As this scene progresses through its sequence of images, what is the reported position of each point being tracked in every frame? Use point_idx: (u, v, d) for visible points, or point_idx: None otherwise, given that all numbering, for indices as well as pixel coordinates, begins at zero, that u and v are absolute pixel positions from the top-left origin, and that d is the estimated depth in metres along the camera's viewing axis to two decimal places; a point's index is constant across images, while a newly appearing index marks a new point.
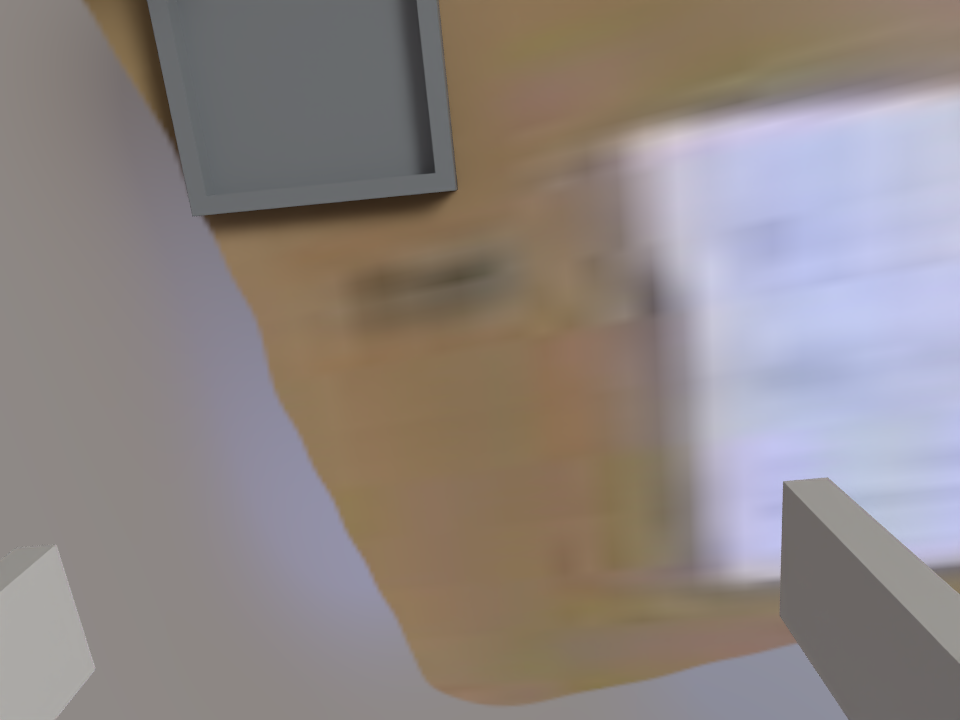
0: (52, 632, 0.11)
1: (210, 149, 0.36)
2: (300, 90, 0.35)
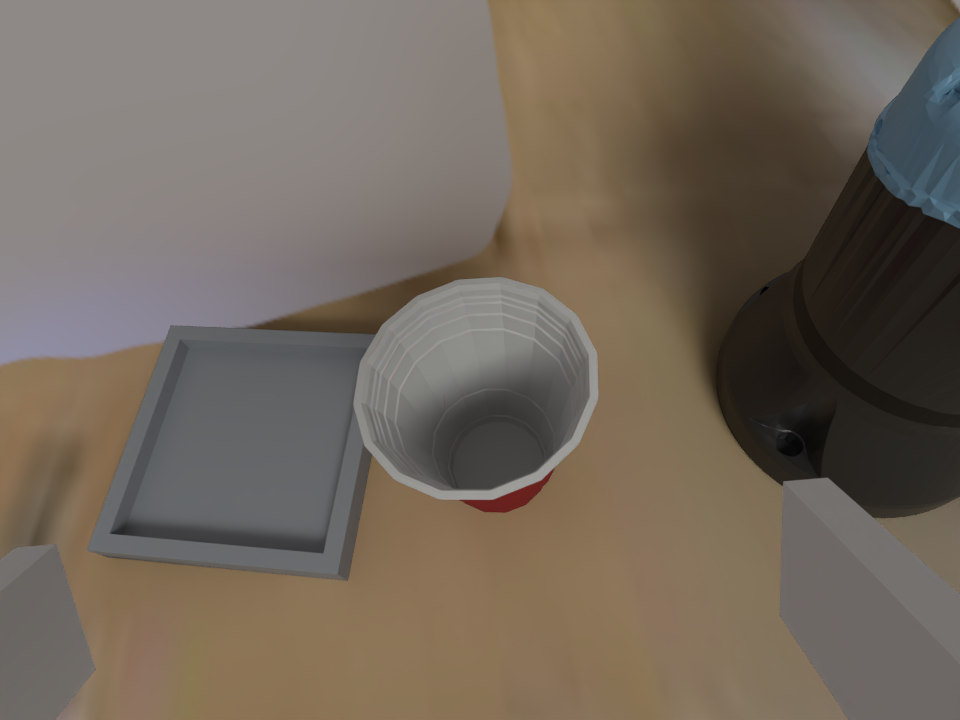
0: (52, 632, 0.11)
1: (222, 352, 0.43)
2: (235, 433, 0.40)
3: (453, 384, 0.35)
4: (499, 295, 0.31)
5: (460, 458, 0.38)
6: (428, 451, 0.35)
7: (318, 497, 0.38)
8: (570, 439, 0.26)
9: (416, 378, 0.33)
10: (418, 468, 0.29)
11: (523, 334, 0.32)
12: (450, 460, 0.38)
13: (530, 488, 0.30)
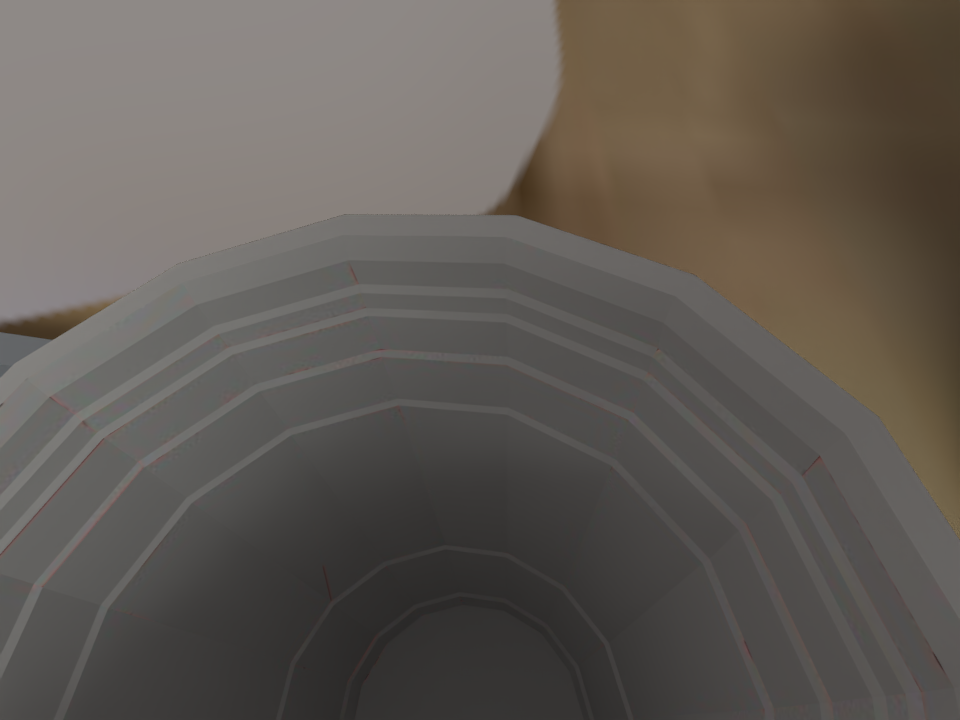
0: None
1: None
2: None
3: (354, 539, 0.12)
4: (500, 290, 0.08)
5: (375, 697, 0.15)
6: None
7: None
8: None
9: (200, 547, 0.10)
10: None
11: (576, 439, 0.09)
12: (346, 708, 0.15)
13: None
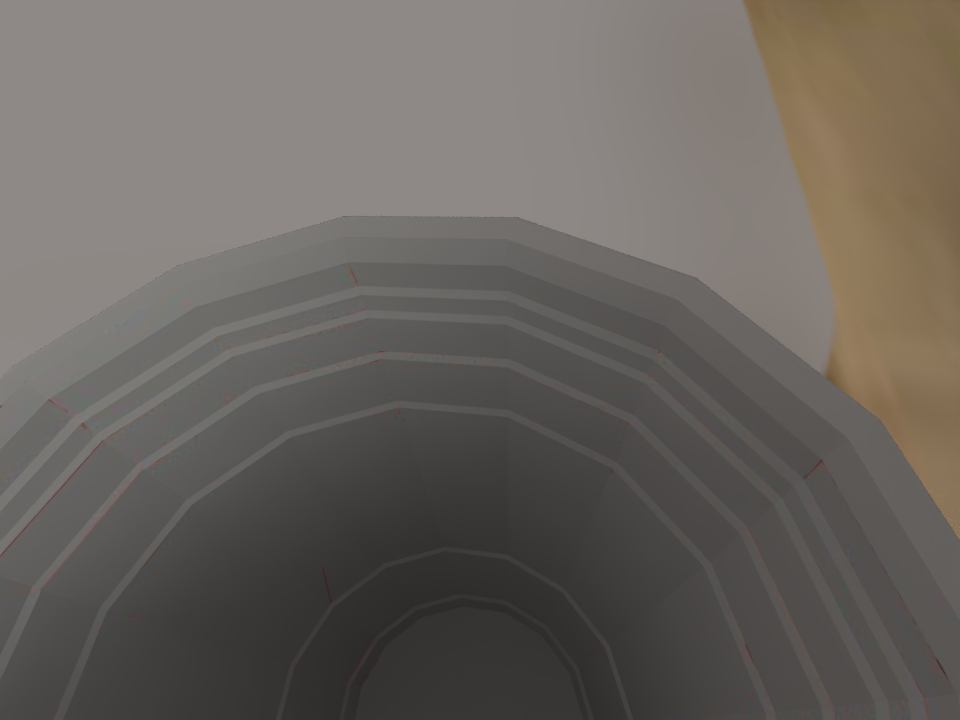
0: None
1: None
2: None
3: (353, 541, 0.12)
4: (500, 292, 0.08)
5: (375, 699, 0.15)
6: None
7: None
8: None
9: (199, 550, 0.10)
10: None
11: (576, 442, 0.09)
12: (346, 710, 0.15)
13: None
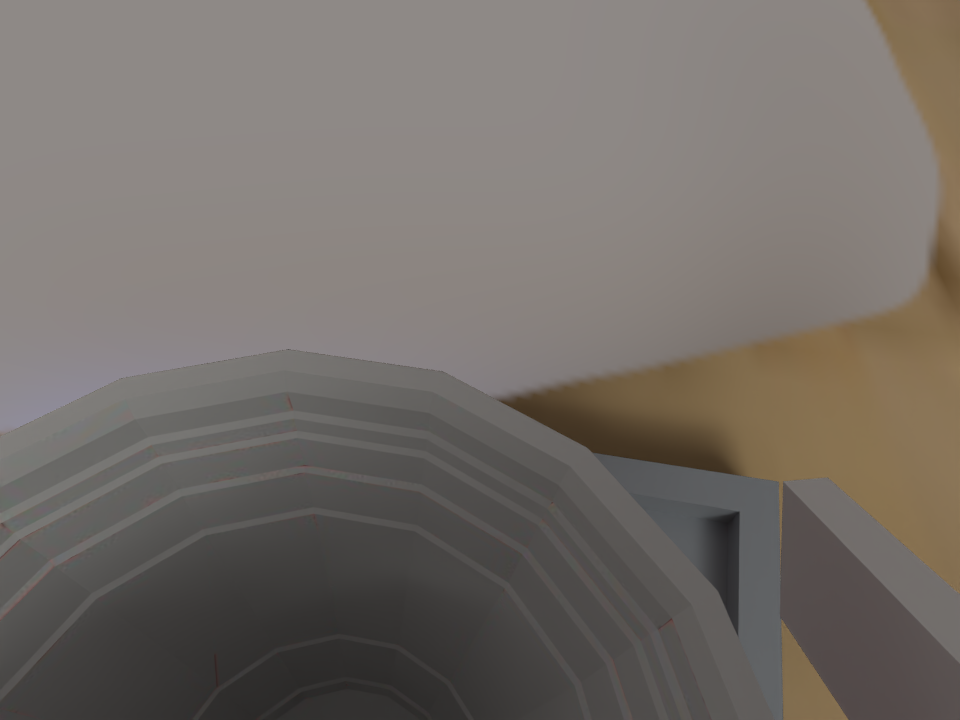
0: None
1: None
2: None
3: (249, 628, 0.13)
4: (422, 432, 0.09)
5: None
6: None
7: None
8: None
9: (96, 642, 0.10)
10: None
11: (475, 561, 0.10)
12: None
13: None
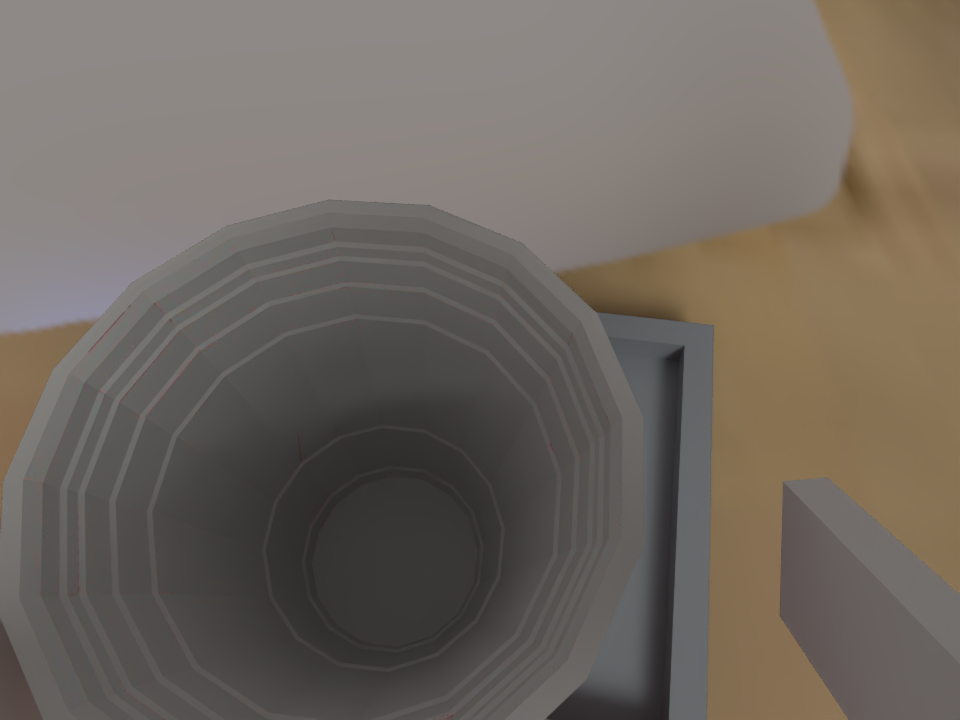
0: None
1: None
2: None
3: (319, 416, 0.18)
4: (420, 247, 0.14)
5: (329, 539, 0.21)
6: (253, 545, 0.17)
7: (619, 613, 0.20)
8: (562, 663, 0.09)
9: (226, 407, 0.15)
10: (179, 638, 0.12)
11: (465, 338, 0.15)
12: (309, 545, 0.21)
13: None
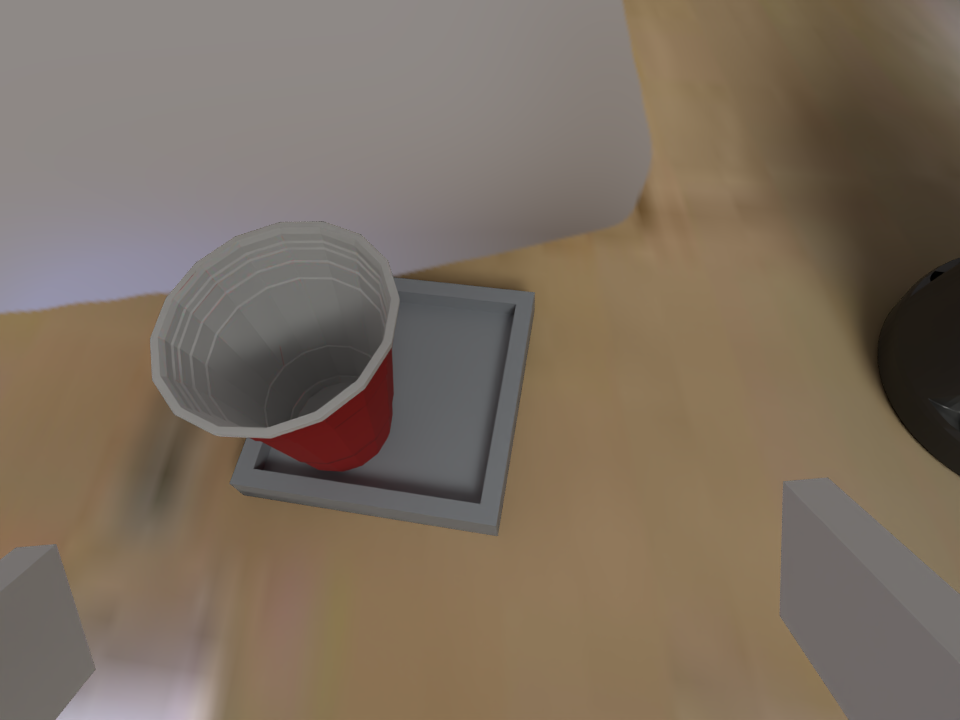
0: (52, 632, 0.11)
1: None
2: None
3: (290, 337, 0.35)
4: (321, 240, 0.30)
5: None
6: (258, 403, 0.34)
7: (466, 449, 0.36)
8: (356, 381, 0.25)
9: (240, 324, 0.32)
10: (220, 411, 0.29)
11: (350, 284, 0.31)
12: (292, 417, 0.37)
13: (339, 438, 0.29)
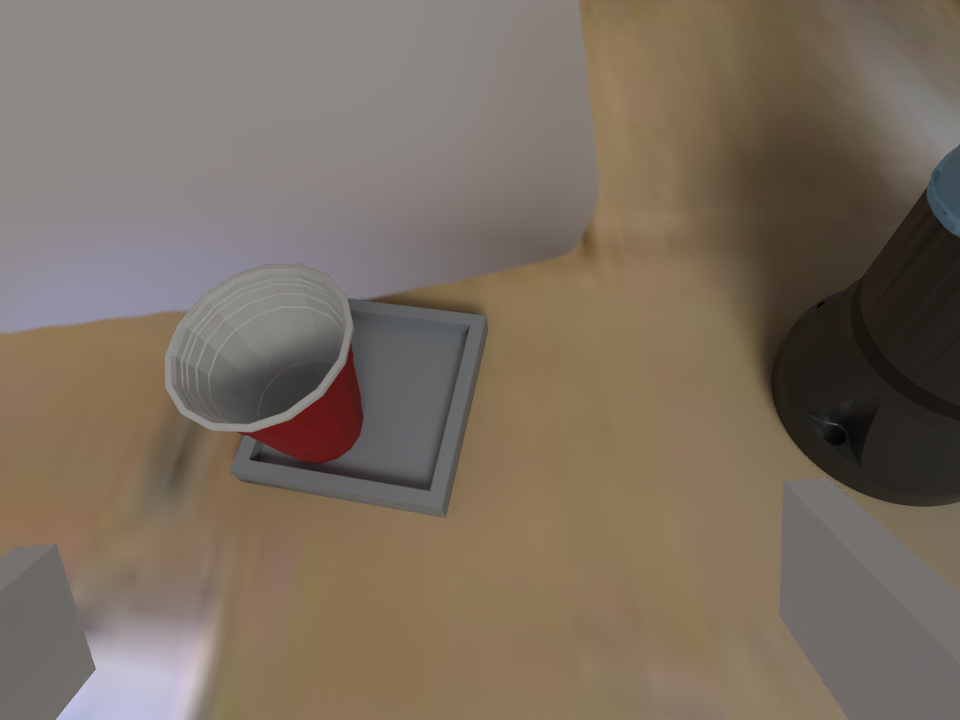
0: (52, 632, 0.11)
1: None
2: None
3: (279, 353, 0.43)
4: (298, 278, 0.38)
5: None
6: (252, 406, 0.42)
7: (423, 446, 0.44)
8: (316, 389, 0.33)
9: (237, 343, 0.40)
10: (218, 411, 0.37)
11: (322, 312, 0.39)
12: None
13: (310, 434, 0.37)
